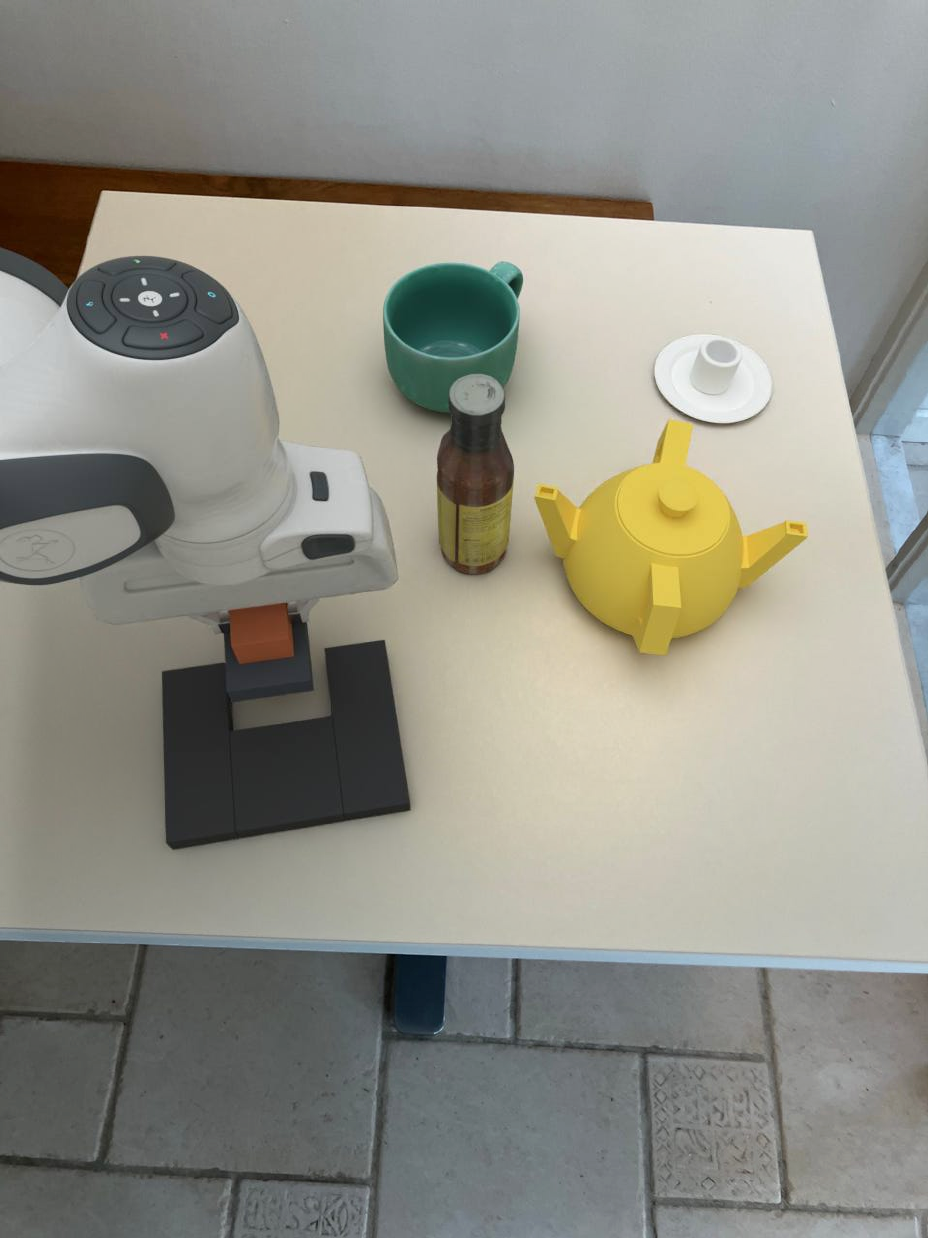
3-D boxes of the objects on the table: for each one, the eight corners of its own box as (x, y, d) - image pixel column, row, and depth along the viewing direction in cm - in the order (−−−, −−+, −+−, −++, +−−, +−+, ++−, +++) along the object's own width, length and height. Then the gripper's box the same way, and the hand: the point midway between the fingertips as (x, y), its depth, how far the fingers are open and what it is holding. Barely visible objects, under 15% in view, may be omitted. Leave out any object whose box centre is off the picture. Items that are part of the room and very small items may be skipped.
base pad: (172, 850, 66) (165, 843, 64) (167, 681, 73) (161, 670, 71) (410, 810, 68) (410, 803, 67) (385, 649, 75) (384, 639, 73)
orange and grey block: (232, 702, 65) (217, 674, 60) (225, 586, 69) (212, 552, 65) (314, 691, 65) (305, 661, 61) (302, 576, 70) (293, 541, 66)
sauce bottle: (519, 539, 81) (545, 385, 63) (485, 589, 78) (502, 443, 60) (457, 507, 82) (466, 348, 64) (421, 556, 79) (421, 404, 62)
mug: (449, 451, 85) (452, 381, 77) (360, 380, 89) (353, 306, 80) (562, 362, 91) (576, 288, 83) (473, 299, 95) (478, 223, 87)
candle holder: (774, 352, 93) (789, 321, 89) (764, 439, 87) (779, 409, 84) (661, 329, 94) (671, 296, 90) (644, 412, 88) (654, 382, 85)
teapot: (655, 469, 85) (687, 380, 74) (778, 593, 79) (833, 516, 68) (516, 552, 80) (530, 469, 69) (637, 691, 74) (672, 625, 63)
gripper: (40, 576, 50) (116, 678, 62) (398, 531, 52) (404, 638, 65) (46, 487, 53) (118, 601, 65) (384, 448, 55) (393, 566, 68)
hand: (262, 619), depth 65 cm, fingers closed on orange and grey block, 4 cm apart
